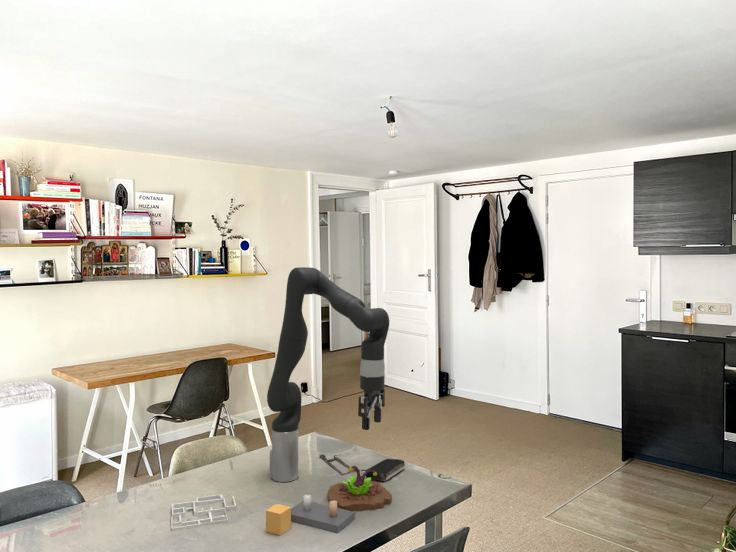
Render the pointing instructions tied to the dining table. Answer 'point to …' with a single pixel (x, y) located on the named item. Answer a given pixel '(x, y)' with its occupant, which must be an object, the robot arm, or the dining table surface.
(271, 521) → the pale orange cube
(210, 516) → the floor plan model
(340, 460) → the hacksaw
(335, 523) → the board
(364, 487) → the plant
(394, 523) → the dining table surface
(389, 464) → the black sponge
